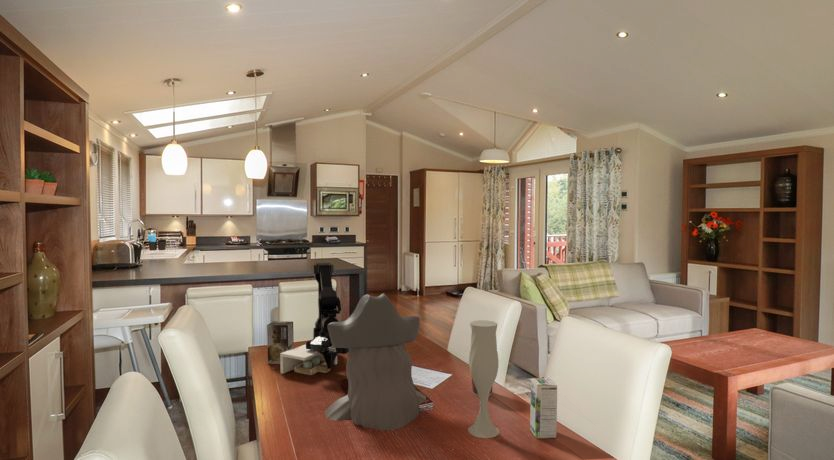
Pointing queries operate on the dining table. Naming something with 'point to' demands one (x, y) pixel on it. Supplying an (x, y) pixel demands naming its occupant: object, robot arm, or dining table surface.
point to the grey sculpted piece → (377, 366)
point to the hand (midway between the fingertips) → (329, 368)
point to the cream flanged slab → (298, 358)
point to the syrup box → (543, 408)
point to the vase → (483, 373)
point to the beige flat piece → (319, 368)
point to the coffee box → (279, 339)
